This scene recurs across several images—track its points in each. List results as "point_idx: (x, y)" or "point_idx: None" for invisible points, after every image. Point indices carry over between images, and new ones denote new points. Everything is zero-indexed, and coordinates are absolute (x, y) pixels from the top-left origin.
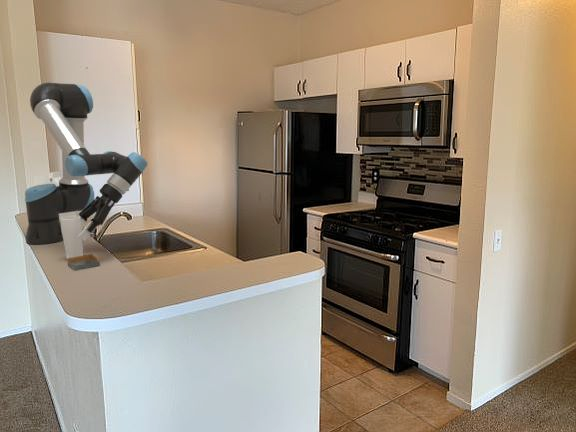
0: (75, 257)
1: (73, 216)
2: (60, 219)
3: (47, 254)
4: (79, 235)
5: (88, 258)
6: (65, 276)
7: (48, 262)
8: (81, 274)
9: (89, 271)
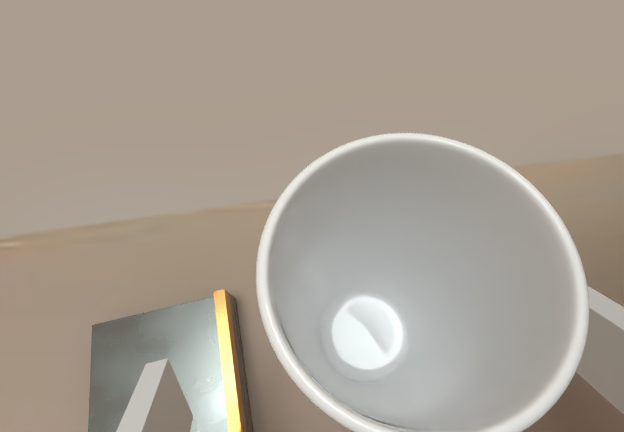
0: (218, 335)
1: (574, 309)
2: (372, 138)
3: (548, 195)
4: (143, 374)
5: (216, 419)
6: (35, 285)
7: None
8: (6, 360)
9: (29, 406)
